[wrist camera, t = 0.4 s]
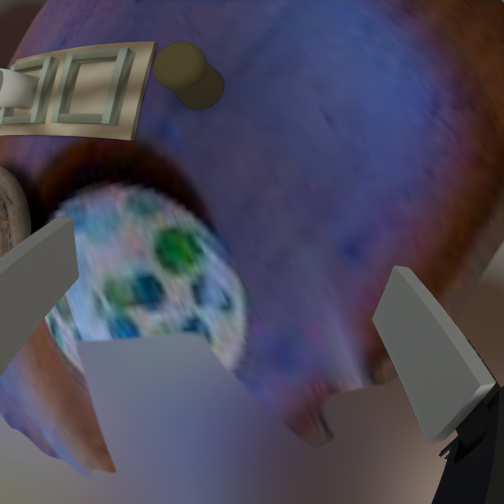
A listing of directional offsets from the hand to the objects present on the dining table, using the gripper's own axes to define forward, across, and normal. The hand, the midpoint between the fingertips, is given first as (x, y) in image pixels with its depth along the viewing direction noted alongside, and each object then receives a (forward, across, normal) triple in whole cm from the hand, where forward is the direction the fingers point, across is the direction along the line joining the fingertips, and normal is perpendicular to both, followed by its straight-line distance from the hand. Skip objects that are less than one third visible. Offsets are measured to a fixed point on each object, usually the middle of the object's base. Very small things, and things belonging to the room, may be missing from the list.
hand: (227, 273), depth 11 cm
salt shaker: (+29, -36, +9) cm, 47 cm away
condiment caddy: (+30, -29, +9) cm, 43 cm away
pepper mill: (+29, -7, +9) cm, 31 cm away
